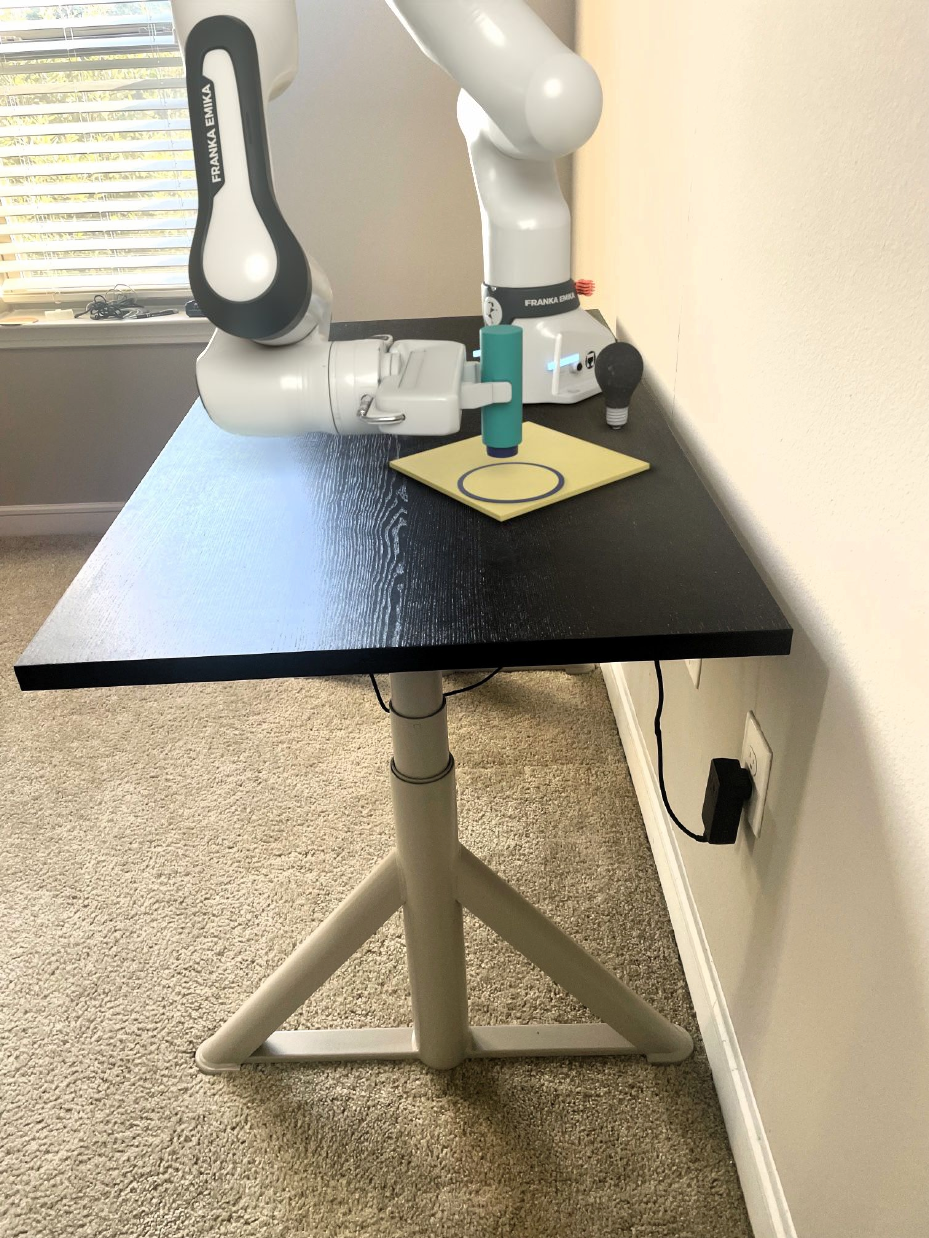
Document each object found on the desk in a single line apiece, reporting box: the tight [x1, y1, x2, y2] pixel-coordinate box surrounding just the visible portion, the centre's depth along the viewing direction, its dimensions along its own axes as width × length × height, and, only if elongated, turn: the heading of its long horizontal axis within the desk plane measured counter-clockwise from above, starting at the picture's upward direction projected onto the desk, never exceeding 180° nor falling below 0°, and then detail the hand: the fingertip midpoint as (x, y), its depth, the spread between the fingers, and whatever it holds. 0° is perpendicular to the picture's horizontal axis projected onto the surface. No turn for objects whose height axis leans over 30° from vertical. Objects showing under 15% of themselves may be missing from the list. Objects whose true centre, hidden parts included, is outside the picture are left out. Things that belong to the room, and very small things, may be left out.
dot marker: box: [479, 325, 523, 458], centre depth 83 cm, size 4×4×12 cm
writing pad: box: [388, 421, 650, 522], centre depth 93 cm, size 20×20×1 cm
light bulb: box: [594, 341, 644, 430], centre depth 100 cm, size 6×6×10 cm
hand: (511, 382), depth 83 cm, fingers closed on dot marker, 4 cm apart
